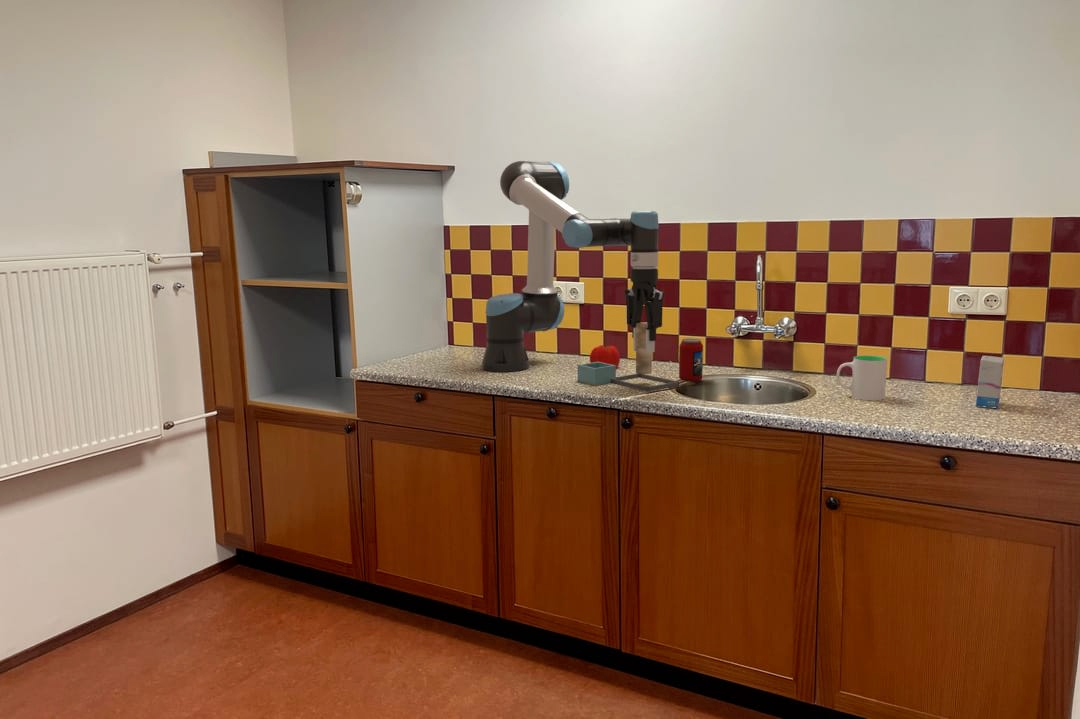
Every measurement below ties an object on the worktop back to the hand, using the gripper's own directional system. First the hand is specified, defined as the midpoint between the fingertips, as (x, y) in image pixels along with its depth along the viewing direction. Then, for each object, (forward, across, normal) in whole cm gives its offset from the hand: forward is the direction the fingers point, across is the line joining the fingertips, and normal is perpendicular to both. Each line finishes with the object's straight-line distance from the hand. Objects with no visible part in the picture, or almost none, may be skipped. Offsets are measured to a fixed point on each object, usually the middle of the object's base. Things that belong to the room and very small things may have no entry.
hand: (643, 351), depth 226 cm
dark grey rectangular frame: (+10, 0, 0) cm, 10 cm away
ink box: (+11, +71, +50) cm, 87 cm away
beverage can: (+10, +3, +16) cm, 19 cm away
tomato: (+10, -26, +8) cm, 29 cm away
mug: (+11, +46, +34) cm, 58 cm away
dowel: (+6, 0, 0) cm, 6 cm away
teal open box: (+10, -11, -8) cm, 17 cm away
